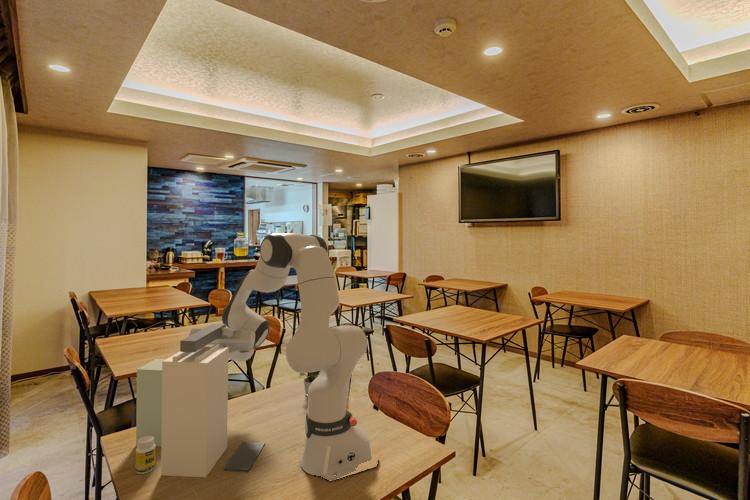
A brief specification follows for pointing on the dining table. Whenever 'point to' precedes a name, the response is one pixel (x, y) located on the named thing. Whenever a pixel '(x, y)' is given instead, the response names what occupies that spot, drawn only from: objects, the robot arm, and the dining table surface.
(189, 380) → the outlet wall
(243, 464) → the plate
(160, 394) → the pale green block
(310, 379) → the house plant
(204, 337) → the bar
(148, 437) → the supplement bottle
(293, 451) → the dining table surface
